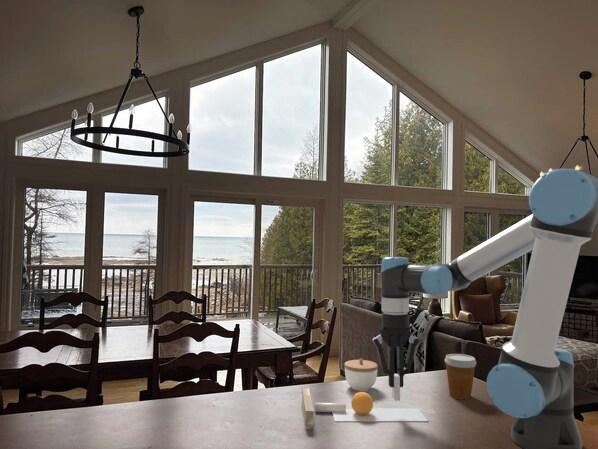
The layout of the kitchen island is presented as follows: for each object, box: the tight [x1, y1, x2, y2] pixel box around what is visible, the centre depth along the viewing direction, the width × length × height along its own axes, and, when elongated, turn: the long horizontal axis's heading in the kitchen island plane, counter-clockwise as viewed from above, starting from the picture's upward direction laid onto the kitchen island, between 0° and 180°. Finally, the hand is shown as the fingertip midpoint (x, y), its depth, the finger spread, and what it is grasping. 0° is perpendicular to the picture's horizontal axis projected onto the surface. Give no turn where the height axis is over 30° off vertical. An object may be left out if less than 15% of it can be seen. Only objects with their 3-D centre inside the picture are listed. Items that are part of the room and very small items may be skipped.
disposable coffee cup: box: [444, 353, 478, 400], centre depth 145 cm, size 10×10×12 cm
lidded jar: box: [344, 358, 379, 392], centre depth 152 cm, size 11×11×9 cm
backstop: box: [301, 387, 314, 430], centre depth 127 cm, size 2×18×4 cm, turn 3°
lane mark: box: [331, 407, 429, 423], centre depth 128 cm, size 25×9×1 cm, turn 92°
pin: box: [314, 402, 347, 413], centre depth 130 cm, size 2×2×8 cm
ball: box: [350, 391, 374, 415], centre depth 129 cm, size 6×6×6 cm
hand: (396, 398), depth 128 cm, fingers closed
